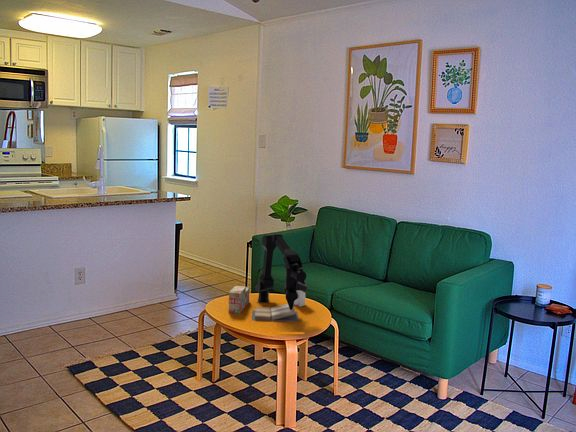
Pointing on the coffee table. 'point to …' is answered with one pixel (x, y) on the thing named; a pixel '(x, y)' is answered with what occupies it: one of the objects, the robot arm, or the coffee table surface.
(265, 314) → the oak board
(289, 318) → the underlay mat
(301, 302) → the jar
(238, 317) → the coffee table surface
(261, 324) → the coffee table surface
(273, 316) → the ash plank
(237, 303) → the stack of blocks
